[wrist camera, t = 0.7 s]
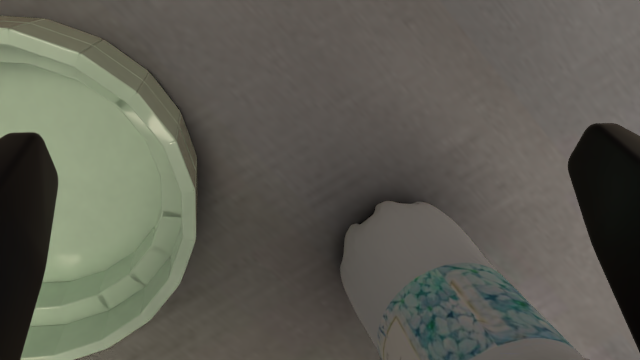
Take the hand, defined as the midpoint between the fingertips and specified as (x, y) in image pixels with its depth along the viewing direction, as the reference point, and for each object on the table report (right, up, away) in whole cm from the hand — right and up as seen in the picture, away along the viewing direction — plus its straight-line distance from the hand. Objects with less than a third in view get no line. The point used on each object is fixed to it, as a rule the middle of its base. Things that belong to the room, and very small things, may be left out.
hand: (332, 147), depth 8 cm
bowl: (-12, 0, +13) cm, 17 cm away
